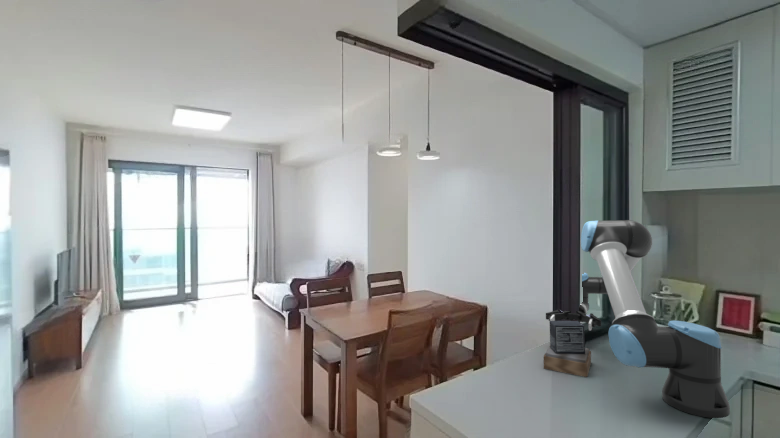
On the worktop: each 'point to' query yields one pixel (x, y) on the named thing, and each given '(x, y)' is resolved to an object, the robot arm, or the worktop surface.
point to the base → (568, 362)
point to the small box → (567, 337)
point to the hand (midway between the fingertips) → (569, 324)
